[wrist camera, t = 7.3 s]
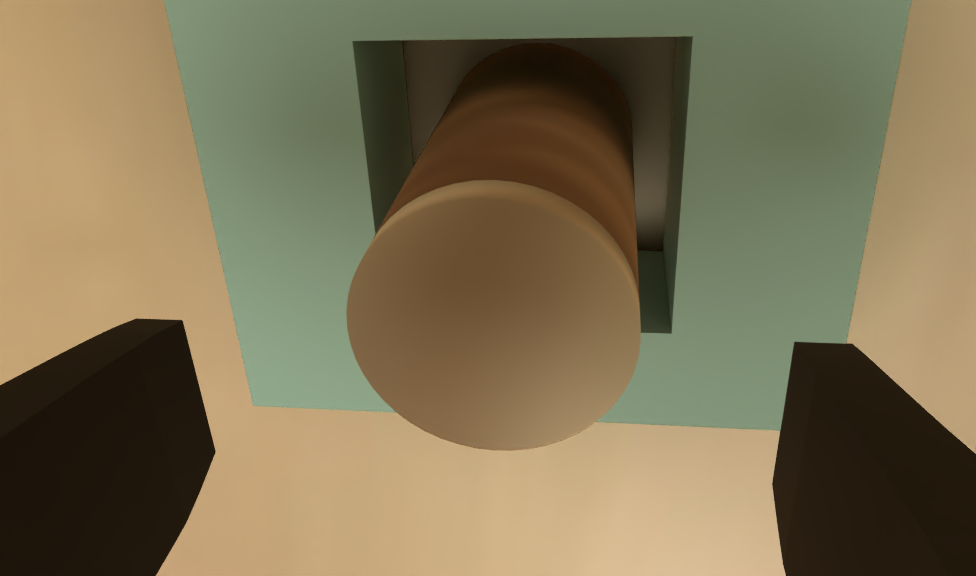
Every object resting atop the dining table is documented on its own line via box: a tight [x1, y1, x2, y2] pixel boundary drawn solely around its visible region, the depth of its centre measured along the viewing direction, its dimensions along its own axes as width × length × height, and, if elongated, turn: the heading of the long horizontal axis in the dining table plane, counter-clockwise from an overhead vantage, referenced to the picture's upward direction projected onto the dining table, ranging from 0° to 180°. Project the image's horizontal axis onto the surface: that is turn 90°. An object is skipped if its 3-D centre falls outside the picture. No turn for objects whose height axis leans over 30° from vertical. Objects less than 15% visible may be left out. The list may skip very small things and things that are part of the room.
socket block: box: [164, 0, 911, 431], centre depth 17 cm, size 12×10×4 cm
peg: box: [346, 43, 641, 450], centre depth 15 cm, size 4×4×8 cm
